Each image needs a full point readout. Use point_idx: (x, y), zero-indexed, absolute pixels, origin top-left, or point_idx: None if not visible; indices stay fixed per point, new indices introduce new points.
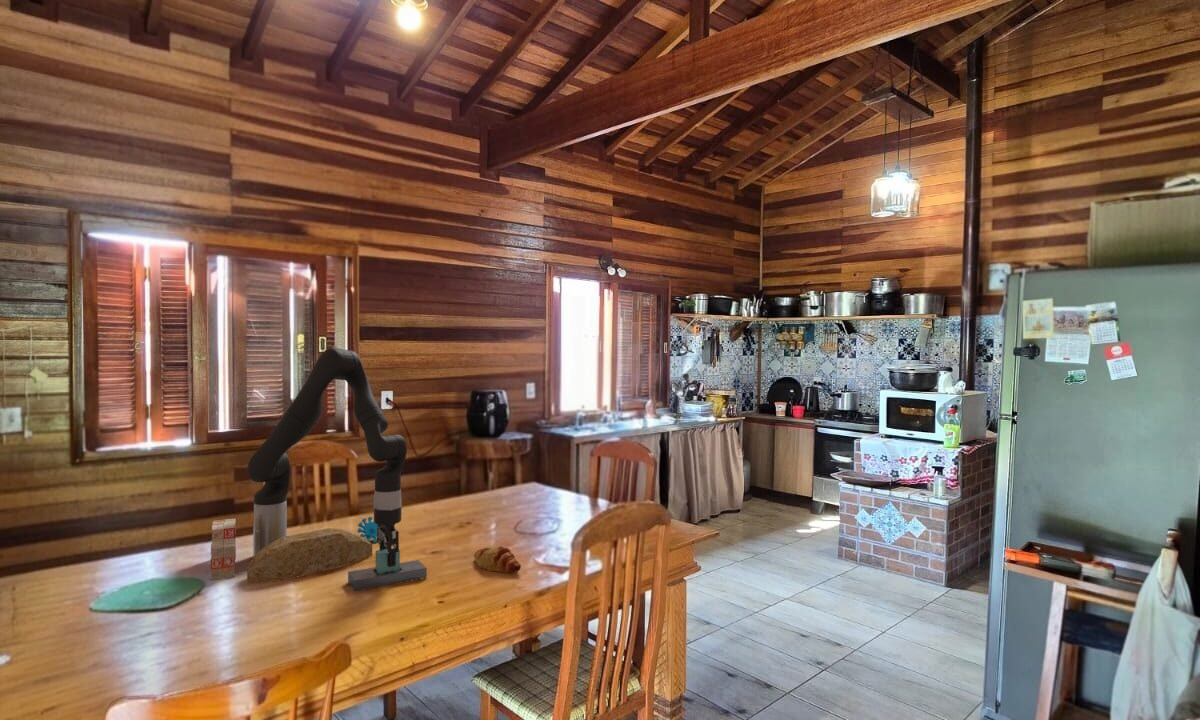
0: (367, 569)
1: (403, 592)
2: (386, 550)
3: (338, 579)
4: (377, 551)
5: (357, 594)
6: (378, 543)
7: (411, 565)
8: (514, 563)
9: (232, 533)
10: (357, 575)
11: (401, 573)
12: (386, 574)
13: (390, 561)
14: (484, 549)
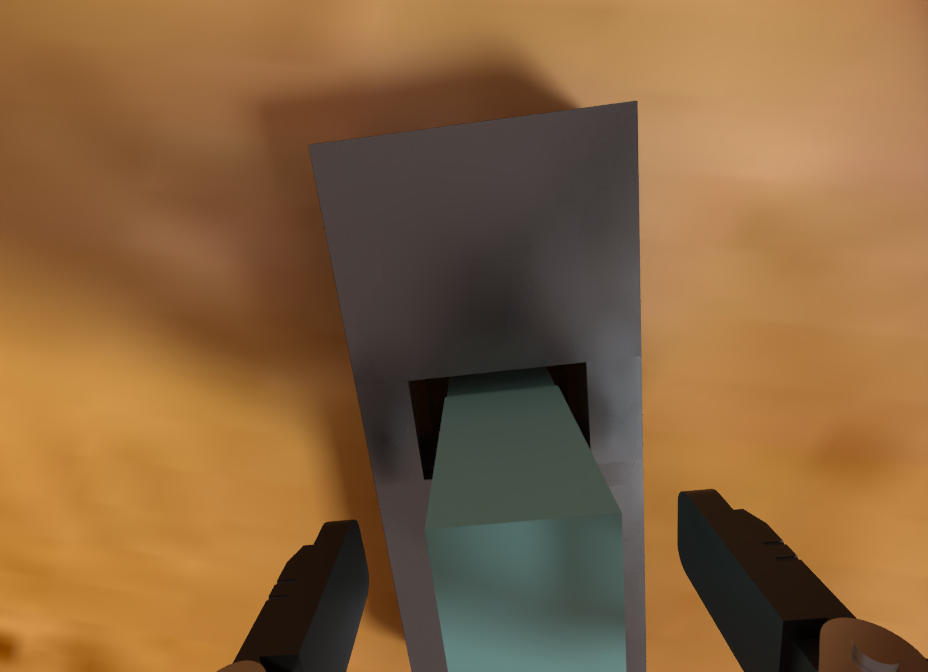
0: (608, 314)
1: (210, 493)
2: (554, 650)
3: (731, 39)
4: (565, 533)
5: (264, 179)
6: (869, 633)
7: None
8: None
9: None
10: (460, 194)
11: (392, 563)
12: (379, 457)
13: (279, 590)
14: None
